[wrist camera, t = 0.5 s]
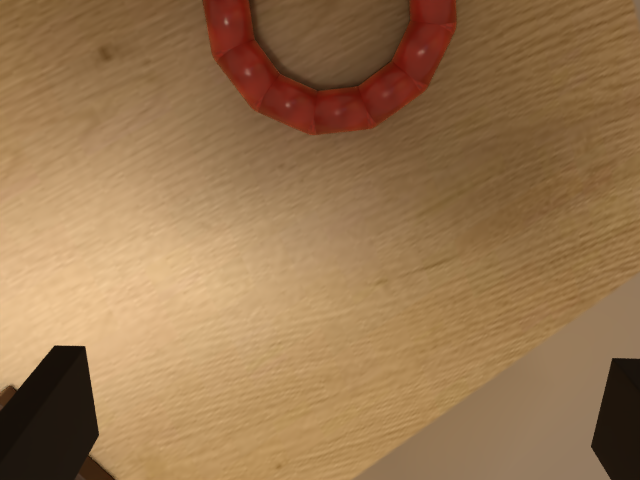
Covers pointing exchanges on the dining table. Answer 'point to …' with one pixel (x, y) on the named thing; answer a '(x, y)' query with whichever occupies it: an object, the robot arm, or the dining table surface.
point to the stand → (90, 474)
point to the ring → (335, 104)
